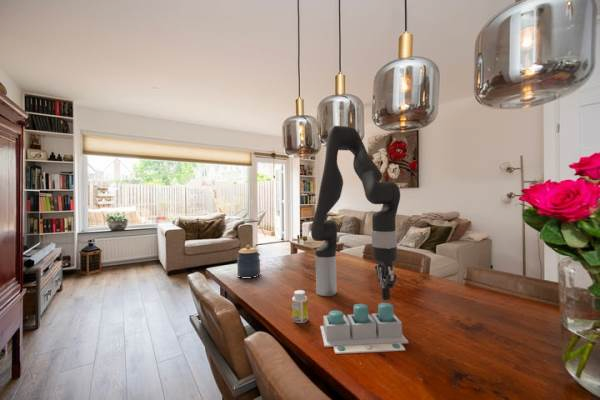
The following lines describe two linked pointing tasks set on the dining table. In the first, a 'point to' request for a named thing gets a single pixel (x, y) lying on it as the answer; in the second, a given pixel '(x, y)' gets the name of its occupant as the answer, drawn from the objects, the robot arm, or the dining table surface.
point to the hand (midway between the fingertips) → (385, 299)
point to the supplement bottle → (300, 307)
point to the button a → (335, 317)
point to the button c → (385, 312)
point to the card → (368, 348)
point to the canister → (248, 262)
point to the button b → (361, 313)
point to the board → (362, 332)
